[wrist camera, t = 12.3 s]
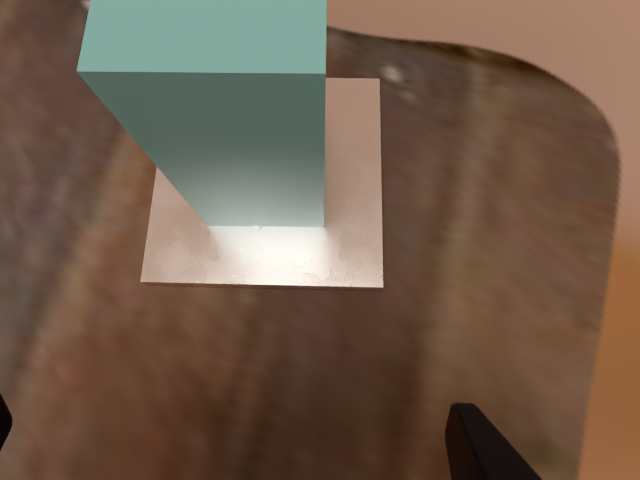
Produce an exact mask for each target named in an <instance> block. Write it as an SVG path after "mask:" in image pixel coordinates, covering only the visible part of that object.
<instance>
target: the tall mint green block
mask: <svg viewBox="0 0 640 480" xmlns="http://www.w3.org/2000/svg"><path fill="white" fill-rule="evenodd" d="M326 1H327V0H91V3H90V8H89V13H88V18H87V23H86V28H85V33H84V37H83V42H82V47H81V52H80V57H79V62H78V67H77V73H78V74H79V75H80V76H81V77H82V78H83V80H84V81H85V82H86V83H87V84H88V86H89V87H90V88H91V89H92V90H93V91H94V93H95V94H96V95H97V96H98V97H99V99H100V100H101V101H102V102H103V103H104V104H105V106H106V107H107V108H108V109H109V110H110V112H111V113H112V114H113V115H114V116H115V117H116V119H117V120H118V121H119V122H120V123H121V125H122V126H123V127H124V128H125V129H126V130H127V132H128V133H129V134H130V135H131V136H132V138H133V139H134V140H135V141H136V142H137V143H138V145H139V146H140V147H141V148H142V149H143V151H144V152H145V153H146V154H147V155H148V156H149V158H150V159H151V160H152V161H153V162H154V164H155V165H156V166H157V167H158V168H159V169H160V171H161V172H162V173H163V174H164V175H165V177H166V178H167V179H168V180H169V181H170V182H171V184H172V185H173V186H174V187H175V188H176V190H177V191H178V192H179V193H180V194H181V195H182V197H183V198H184V199H185V200H186V201H187V203H188V204H189V205H190V206H191V207H192V208H193V210H194V211H195V212H196V213H197V214H198V216H199V217H200V218H201V219H202V220H203V221H204V223H205V224H206V225H207V226H275V227H324V178H325V96H326V12H327V10H326V9H327V2H326Z"/></svg>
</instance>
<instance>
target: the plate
mask: <svg viewBox="0 0 640 480" xmlns="http://www.w3.org/2000/svg"><path fill="white" fill-rule="evenodd" d="M140 282H142V283H144V284H146V285H152V286H195V287H238V288H281V289H324V290H367V291H381V290H382V288H383V246H382V188H381V130H380V79H362V78H326V96H325V178H324V227H275V226H207V225H206V224H205V223H204V221H203V220H202V219H201V218H200V217H199V216H198V214H197V213H196V212H195V211H194V210H193V208H192V207H191V206H190V205H189V204H188V203H187V201H186V200H185V199H184V198H183V197H182V195H181V194H180V193H179V192H178V191H177V190H176V188H175V187H174V186H173V185H172V184H171V182H170V181H169V180H168V179H167V178H166V177H165V175H164V174H163V173H162V172H161V171H160V169H159V168H158V167H157V170H156V177H155V184H154V191H153V198H152V205H151V212H150V219H149V226H148V233H147V240H146V247H145V254H144V261H143V267H142V274H141V281H140Z"/></svg>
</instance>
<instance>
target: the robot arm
mask: <svg viewBox="0 0 640 480" xmlns="http://www.w3.org/2000/svg"><path fill="white" fill-rule="evenodd" d="M11 426H12V415H11V413H10V411H9V409H8V407H7V405H6V403H5V401H4V399H3V397H2V395H1V394H0V451H1V448H2V446H3V444H4V442H5V440H6V438H7V436H8V434H9V432H10V430H11ZM445 442H446V448H447V454H448V461H449V467H450V473H451V479H452V480H542V479H541V477H540V476H539V475H538V474H537V473H536V472H535V471H534V470H533V468H532V467H531V466H530V465H529V464H528V463H527V462H526V461H525V460H524V458H523V457H522V456H521V455H520V454H519V453H518V452H517V451H516V450H515V448H514V447H513V446H512V445H511V444H510V443H509V442H508V441H507V439H506V438H505V437H504V436H503V435H502V434H501V433H500V432H499V431H498V429H497V428H496V427H495V426H494V425H493V424H492V423H491V422H490V421H489V419H488V418H487V417H486V416H485V415H484V414H483V413H482V412H481V410H480V409H479V408H478V407H477V406H476V405H474V404H472V403H453V404H452V406H451V408H450V412H449V416H448V421H447V425H446V429H445Z"/></svg>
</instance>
